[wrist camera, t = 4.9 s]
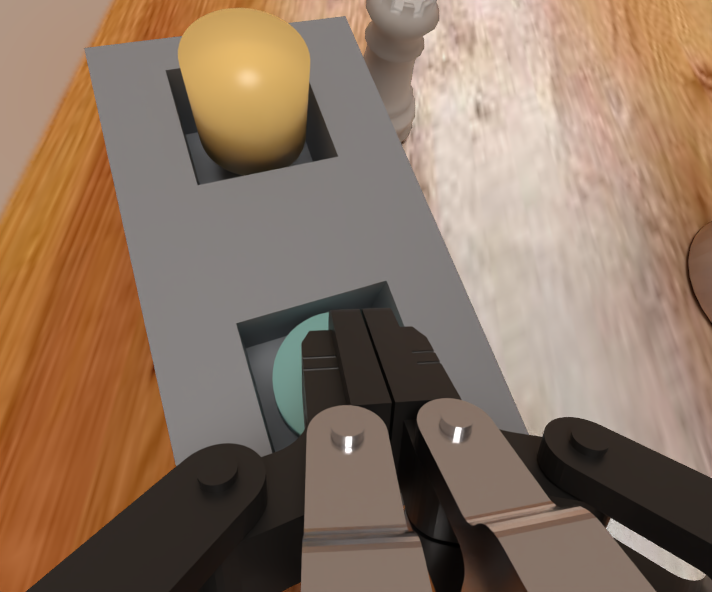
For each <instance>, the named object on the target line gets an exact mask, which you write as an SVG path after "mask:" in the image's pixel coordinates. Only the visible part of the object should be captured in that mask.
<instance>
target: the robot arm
mask: <svg viewBox="0 0 712 592" xmlns="http://www.w3.org/2000/svg"><path fill="white" fill-rule="evenodd" d="M688 263H689V273H690V279H691V283H692V286H693V289H694V293H695V295H696V297H697V299H698V301H699V303H700V305H701V307H702V309H703V311H704V312H705V313H706V315H707V316H708V318H709V319H710V321H711V322H712V221H711V222H710V223H708V224H707V225H705V226H704V227H702V229H701V230H700V231H699V232H698V233H697V235H696V236H695V238H694V240H693V242H692V245H691V247H690V253H689V261H688ZM301 355H302V400H303V414H304V428H305V429H304V431H303V433H302V434H301V435H300V437H299V438H298V439H297V440H296V441H294V442H293V443H292V444H290V445H289V446H287V447H286V448H284V449H282V450H279V451H277V452H274V453H271V454H269V455H266V456H263V457H260V455H259V454H258V453H257V452H256V451H254V450H252V449H251V448H249V447H246V446H244V445H240V444H233V443H222V444H216V445H212V446H208V447H205V448H203V449H201V450H198V451H197V452H195V453H193V454H191V455H190V456H189V457H187V458H186V459H185V460H184V461H182V462H181V463H180V464H179V465H177V466H176V467H175V468H174V469H173V470H171V471H170V472H169V473H168V474H167V475H165V476H164V477H163V478H162V479H161V480H159V481H158V482H157V483H156V484H155V485H153V486H152V487H151V488H150V489H149V490H147V491H146V492H145V493H144V494H143V495H141V496H140V497H139V498H138V499H137V500H135V501H134V502H133V503H132V504H131V505H129V506H128V507H127V508H126V509H125V510H123V511H122V512H121V513H120V514H119V515H117V516H116V517H115V518H114V519H113V520H111V521H110V522H109V523H108V524H107V525H105V526H104V527H103V528H102V529H101V530H99V531H98V532H97V533H96V534H95V535H93V536H92V537H91V538H90V539H89V540H87V541H86V542H85V543H84V544H83V545H81V546H80V547H79V548H78V549H76V550H75V551H74V552H73V553H72V554H70V555H69V556H68V557H67V558H66V559H64V560H63V561H62V562H61V563H60V564H58V565H57V566H56V567H55V568H54V569H52V570H51V571H50V572H49V573H48V574H46V575H45V576H44V577H43V578H42V579H40V580H39V581H38V582H37V583H36V584H34V585H33V586H32V587H31V588H30V589H28V590H27V591H26V592H282V591H284V590H286V589H288V588H289V587H291V586H293V585H295V584H297V583H299V582H301V592H712V478H710V477H708V476H706V475H704V474H702V473H700V472H698V471H695V470H693V469H691V468H689V467H687V466H685V465H683V464H681V463H679V462H677V461H674V460H672V459H670V458H668V457H666V456H664V455H662V454H660V453H658V452H656V451H653V450H651V449H649V448H647V447H645V446H643V445H641V444H639V443H637V442H635V441H632V440H630V439H628V438H626V437H624V436H622V435H620V434H618V433H616V432H614V431H611V430H609V429H607V428H605V427H603V426H601V425H599V424H596V423H594V422H591V421H588V420H585V419H580V418H574V417H563V418H558V419H554V420H553V421H551V422H549V423H548V424H547V426H546V428H545V430H544V433H543V437H539V436H533V435H527V434H521V433H515V432H509V431H505V430H501V429H498V427H497V426H496V424H495V423H494V422H493V420H492V419H491V418H490V417H489V415H488V414H487V413H486V412H484V411H483V410H482V409H480V408H479V407H477V406H475V405H473V404H471V403H469V402H466V401H463V400H462V399H461V397H460V396H459V394H458V392H457V390H456V389H455V387H454V385H453V383H452V381H451V380H450V378H449V376H448V374H447V373H446V371H445V369H444V367H443V365H442V364H441V363H440V360H439V358H438V357H437V355H436V353H434V349H433V348H432V346H431V344H430V342H429V341H428V339H427V337H426V336H425V335H423V334H422V333H420V332H419V331H418V330H416V329H415V328H414V327H412V326H407V327H400V326H399V324H398V322H397V320H396V318H395V316H394V313H393V311H392V309H391V308H365V309H340V310H329V318H328V330H316V331H309V332H308V333H307V335H306V337H305V338H304V340H303V341H302V343H301ZM400 493H401V494H402V497H403V501H404V504H405V511H404V510H403V505H402V500H401V495H400ZM610 518H612V519H614V520H615V521H617V522H619V523H621V524H622V525H624V526H626V527H627V528H629V529H631V530H632V531H634V532H636V533H638V534H639V535H641V536H643V537H644V538H646V539H648V540H650V541H651V542H653V543H655V544H656V545H658V546H660V547H661V548H663V549H665V550H667V551H668V552H670V553H672V554H673V555H675V556H677V557H679V558H680V559H682V560H684V561H685V562H687V563H689V564H690V565H692V566H694V567H696V568H697V569H699V570H700V571H702V572H703V573H705V574H706V576H705V577H704V578H703V579H701V580H697V581H690V580H686V579H682V578H680V577H678V576H676V575H674V574H672V573H670V572H669V571H667V570H666V569H664V568H662V567H661V566H659V565H657V564H656V563H654V562H652V561H651V560H649V559H647V558H646V557H644V556H643V555H641V554H639V553H638V552H636V551H634V550H633V549H631V548H629V547H628V546H626V545H625V544H623V543H621V542H620V541H618V540H616V539H615V538H613V537H612V536H611V535H610V533H609V532H608V531H607V530H606V527H607V525H608V523H609V520H610Z"/></svg>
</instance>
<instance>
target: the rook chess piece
mask: <svg viewBox="0 0 712 592" xmlns="http://www.w3.org/2000/svg"><path fill="white" fill-rule="evenodd" d="M436 1H437V0H366V9H367V11H368V13H369V15H370V17H371V19H372V21H371V22H370V23H369V25H368V26H367V28H366V29H365V39H366V42H367V47H366V51H365V54H364V56H363V58H364V60H365V63H366V65H367V67H368V69H369V72H370V74H371V76H372V78H373V81H374V83H375V85H376V88H377V90H378V92H379V94H380V97H381V99H382V101H383V104H384V106H385V108H386V110H387V113H388V115H389V117H390V119H391V122H392V124H393V126H394V129H395V131H396V133H397V135H398V138H399V140H400V142H402V141H403V140H405V139H406V138H407V136H408V134H409V132H410V130H411V128H412V121H413V119H414V117H415V98H414V96H413V88H412V86H411V80H412V74H413V68H414V63H415V60H416V58H417V57H418V56H420V55H421V53H422V51H423V49H424V38H423V36H424V35H425V34H427V33H429V32H430V31H432V30H433V29H435V27H436V25H437V23H438V21H439V8H438V5H437V3H436Z"/></svg>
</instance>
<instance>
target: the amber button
mask: <svg viewBox="0 0 712 592" xmlns="http://www.w3.org/2000/svg"><path fill="white" fill-rule="evenodd" d="M178 61H179V65H180V69H181V73H182V76H183V80H184V83H185V87H186V91H187V94H188V98H189V102H190V105H191V109H192V112H193V116H194V120H195V123H196V127H197V131H198V134H199V138H200V141H201V144H202V147H203V149H204V150H205V152H206V153H207V155H208V156H209V157H210V158H211V159H212V160H213V161H214V162H215V163H216V164H217V165H219V166H220V167H222V168H224V169H225V170H228V171H230V172H232V173H236V174H239V175H244V176H246V175H250V174H255V173H260V172H265V171H270V170H275V169H280V168H285V167H288V166H290V165H291V164H292V163H293V162H294V161H295V160H296V159H297V158H298V157H299V155H300V154H301V152H302V150H303V148H304V145H305V140H306V125H307V109H308V93H309V77H310V54H309V50H308V47H307V45H306V43H305V41H304V39H303V38H302V37H301V35H300V34H299V33H298V32H297V31H296V30H295V29H294V28H293V27H292V26H291V25H290V24H288V23H287V22H285V21H284V20H282V19H280V18H279V17H277V16H274V15H272V14H270V13H267V12H264V11H260V10H255V9H248V8H229V9H223V10H218V11H215V12H212V13H209V14H207V15H205V16H203V17H201V18H199V19H198V20H196V21H195V22H194V23H193V24H191V25H190V26H189V27H188V29H187V30H186V31H185V32H184V34H183V36H182V38H181V40H180V43H179V47H178Z"/></svg>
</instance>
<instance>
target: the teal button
mask: <svg viewBox="0 0 712 592" xmlns="http://www.w3.org/2000/svg"><path fill="white" fill-rule="evenodd" d="M328 318H329V312H327V313H322V314H319V315H316V316H313V317H311V318H309V319H307V320H305V321H303V322H302V323H300V324H299V325H298V326H296V327H295V328H294V329H293V330H292V331H291V332H290V333H289V334H288V336H287V337H286V338H285V339H284V341H283V343H282V344H281V346H280V348H279V350H278V352H277V355H276V358H275V361H274V366H273V376H272V380H273V390H274V395H275V400H276V404H277V408H278V411H279V414H280V416H281V418H282V420H283V422H284V423H285V425H286V426H287V427H288V428H289V429H290V431H291V432H292V433H294V434H295V435H296V436H297V437H300V435H301V434H302V433H303V431H304V429H305V428H304V414H303V400H302V355H301V343H302V341H303V340H304V338H305V337H306V335H307V333H308V332H309V331H316V330H328Z"/></svg>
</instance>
